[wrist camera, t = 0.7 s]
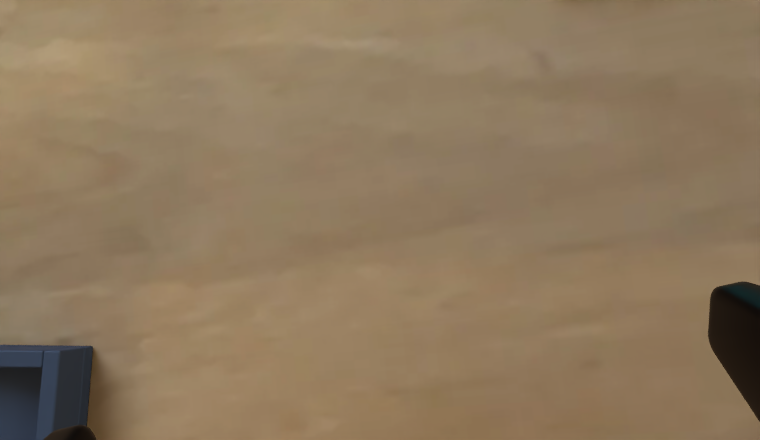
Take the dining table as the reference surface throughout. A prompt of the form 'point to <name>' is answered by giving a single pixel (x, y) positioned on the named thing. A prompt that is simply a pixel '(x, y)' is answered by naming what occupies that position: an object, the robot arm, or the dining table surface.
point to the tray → (43, 389)
